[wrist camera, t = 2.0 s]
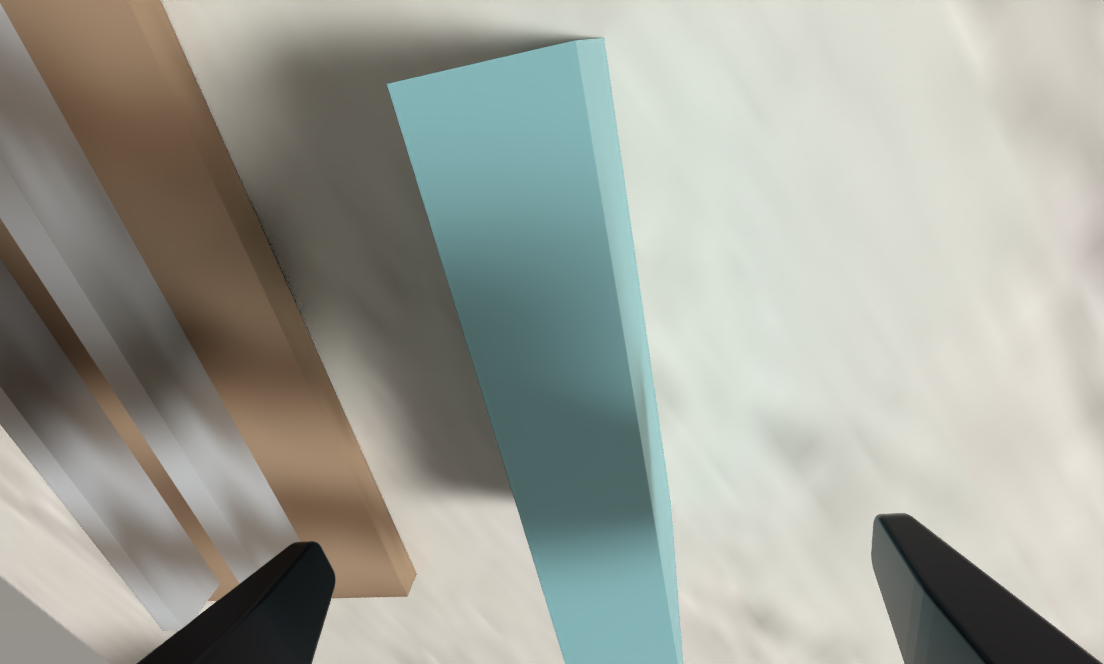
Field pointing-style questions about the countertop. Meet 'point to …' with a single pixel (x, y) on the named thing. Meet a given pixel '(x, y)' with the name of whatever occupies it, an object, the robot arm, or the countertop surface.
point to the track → (161, 325)
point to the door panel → (555, 331)
